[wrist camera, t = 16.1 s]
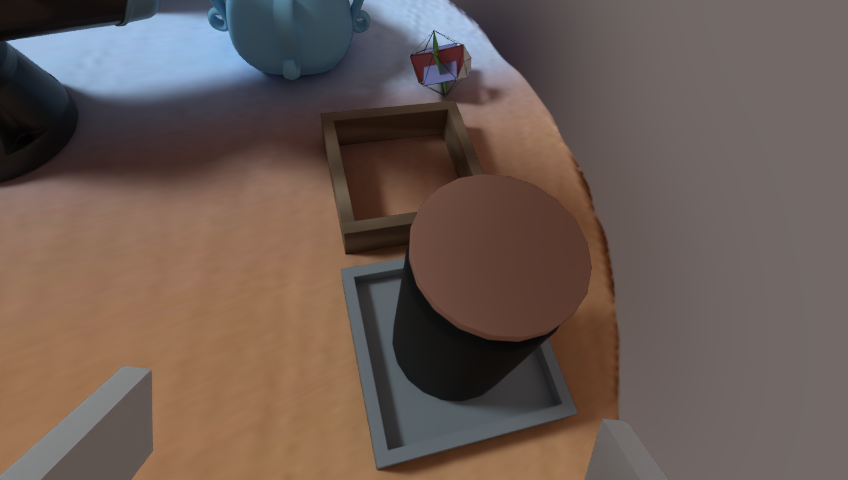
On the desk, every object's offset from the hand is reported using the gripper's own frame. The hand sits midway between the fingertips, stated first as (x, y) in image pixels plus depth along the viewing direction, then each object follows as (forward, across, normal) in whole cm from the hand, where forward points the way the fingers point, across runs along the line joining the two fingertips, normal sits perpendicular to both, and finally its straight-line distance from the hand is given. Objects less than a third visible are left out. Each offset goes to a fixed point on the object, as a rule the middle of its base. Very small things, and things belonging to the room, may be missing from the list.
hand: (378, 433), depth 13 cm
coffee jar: (+26, +6, -11) cm, 29 cm away
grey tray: (+27, +6, -11) cm, 30 cm away
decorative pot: (+54, -16, +15) cm, 58 cm away
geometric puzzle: (+52, +3, +13) cm, 53 cm away
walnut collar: (+40, 0, +1) cm, 40 cm away
